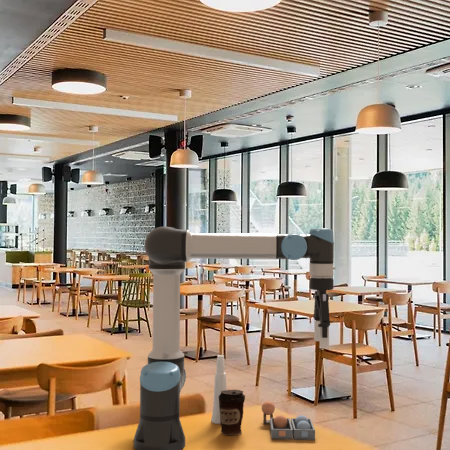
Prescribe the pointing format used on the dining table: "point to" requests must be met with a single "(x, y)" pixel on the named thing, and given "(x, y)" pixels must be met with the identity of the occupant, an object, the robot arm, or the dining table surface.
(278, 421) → the rust ball
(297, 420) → the slate ball
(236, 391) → the coffee cup
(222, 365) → the cosmetic bottle
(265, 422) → the ball stand
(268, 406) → the orange ball
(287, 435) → the grey sorting trays
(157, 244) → the robot arm
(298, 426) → the slate ball
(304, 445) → the dining table surface
